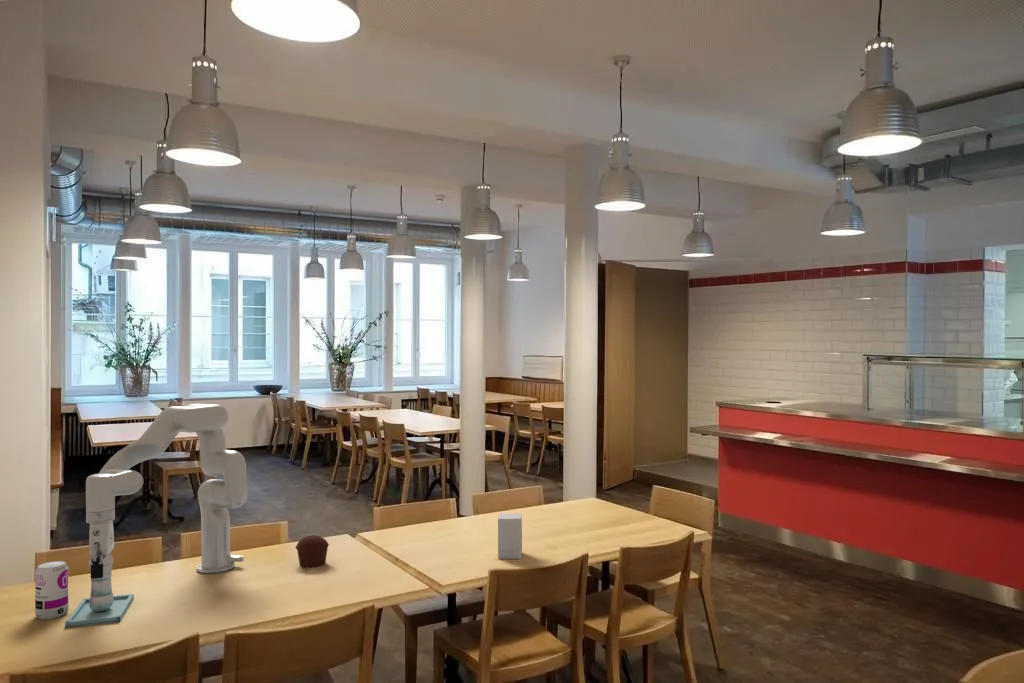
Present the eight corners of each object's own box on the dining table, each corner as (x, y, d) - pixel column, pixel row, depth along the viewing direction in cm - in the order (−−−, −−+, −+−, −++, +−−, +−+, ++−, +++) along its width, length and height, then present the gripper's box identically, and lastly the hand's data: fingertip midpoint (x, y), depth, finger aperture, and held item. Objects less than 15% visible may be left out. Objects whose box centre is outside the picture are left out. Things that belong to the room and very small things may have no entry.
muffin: (333, 560, 269) (333, 532, 269) (322, 569, 258) (322, 541, 258) (302, 559, 270) (302, 532, 270) (290, 568, 259) (290, 540, 259)
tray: (133, 598, 230) (133, 593, 230) (120, 621, 211) (120, 616, 211) (83, 603, 226) (83, 598, 226) (65, 627, 206) (65, 622, 206)
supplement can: (73, 609, 221) (73, 560, 221) (57, 620, 212) (57, 568, 212) (46, 610, 220) (46, 560, 220) (29, 620, 212) (28, 568, 212)
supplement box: (522, 559, 268) (521, 518, 268) (497, 559, 269) (497, 518, 269) (522, 552, 278) (522, 512, 278) (498, 552, 278) (498, 512, 278)
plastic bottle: (86, 615, 214) (85, 547, 214) (92, 607, 221) (92, 541, 220) (110, 613, 216) (109, 545, 216) (116, 604, 222) (115, 539, 222)
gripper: (108, 521, 211) (108, 580, 211) (120, 508, 227) (121, 563, 227) (78, 523, 209) (79, 583, 209) (93, 510, 225) (94, 565, 225)
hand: (100, 572), depth 218 cm, fingers open, 9 cm apart
